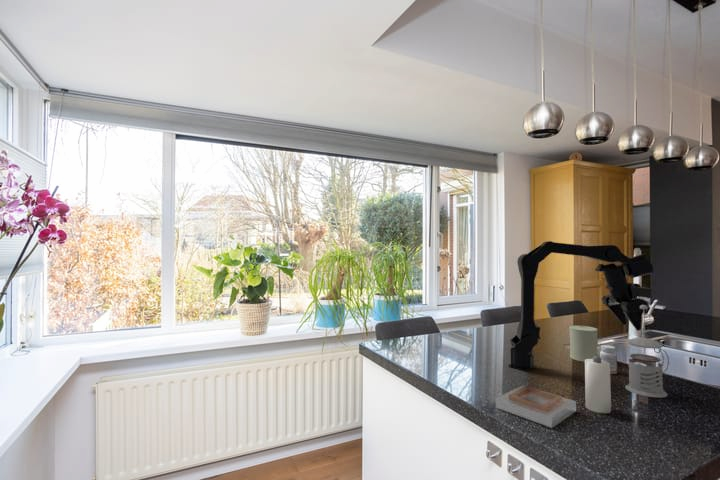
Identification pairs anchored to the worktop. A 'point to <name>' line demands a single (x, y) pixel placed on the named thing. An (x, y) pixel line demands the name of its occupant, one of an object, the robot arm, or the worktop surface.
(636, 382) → the french press
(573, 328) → the can
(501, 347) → the worktop surface
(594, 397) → the white bottle
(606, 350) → the pill bottle
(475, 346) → the worktop surface
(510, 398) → the press bed
